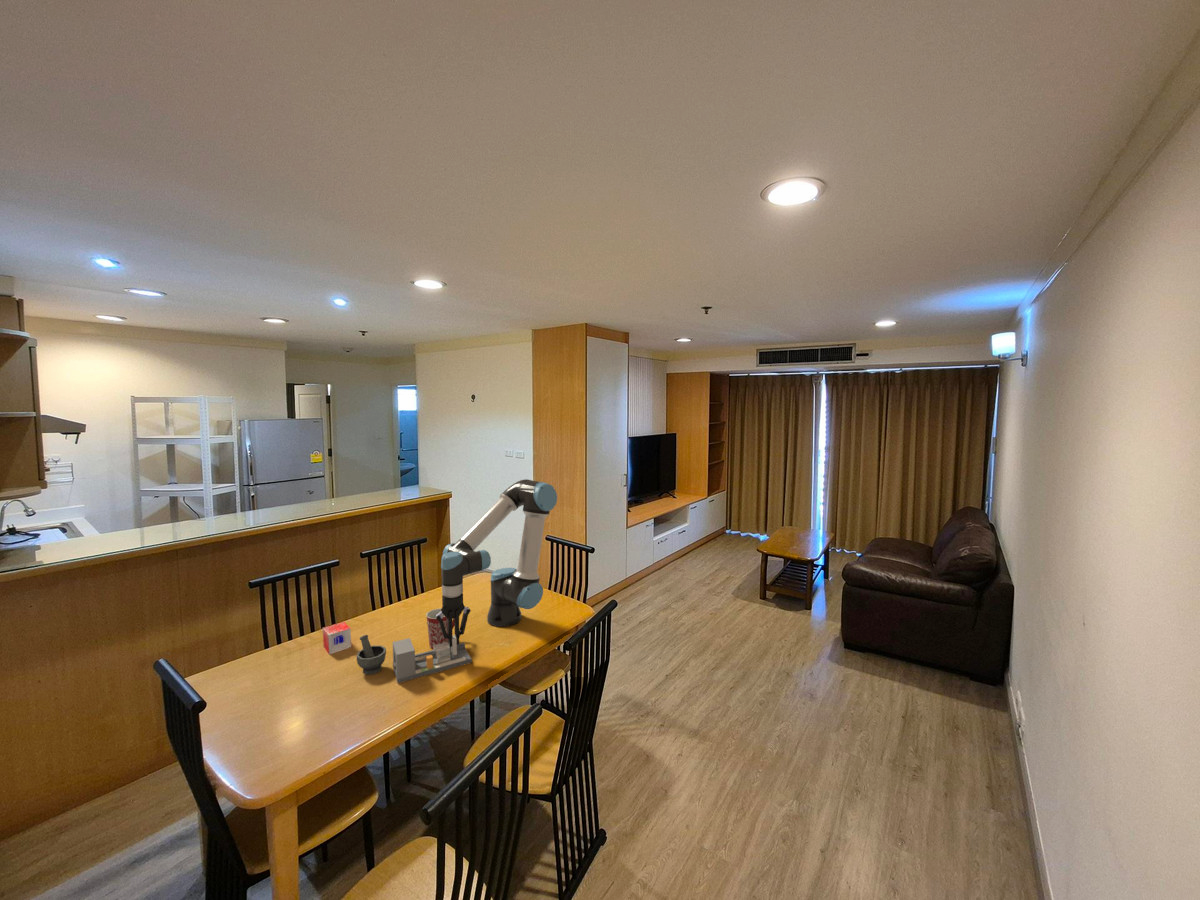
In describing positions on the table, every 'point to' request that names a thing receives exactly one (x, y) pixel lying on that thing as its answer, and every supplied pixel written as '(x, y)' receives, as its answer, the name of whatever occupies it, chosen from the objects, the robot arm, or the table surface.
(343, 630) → the toy block
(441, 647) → the grey block with bar
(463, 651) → the bench
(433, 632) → the mug
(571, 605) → the table surface
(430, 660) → the tangerine cube
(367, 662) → the mortar and pestle
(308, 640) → the table surface
